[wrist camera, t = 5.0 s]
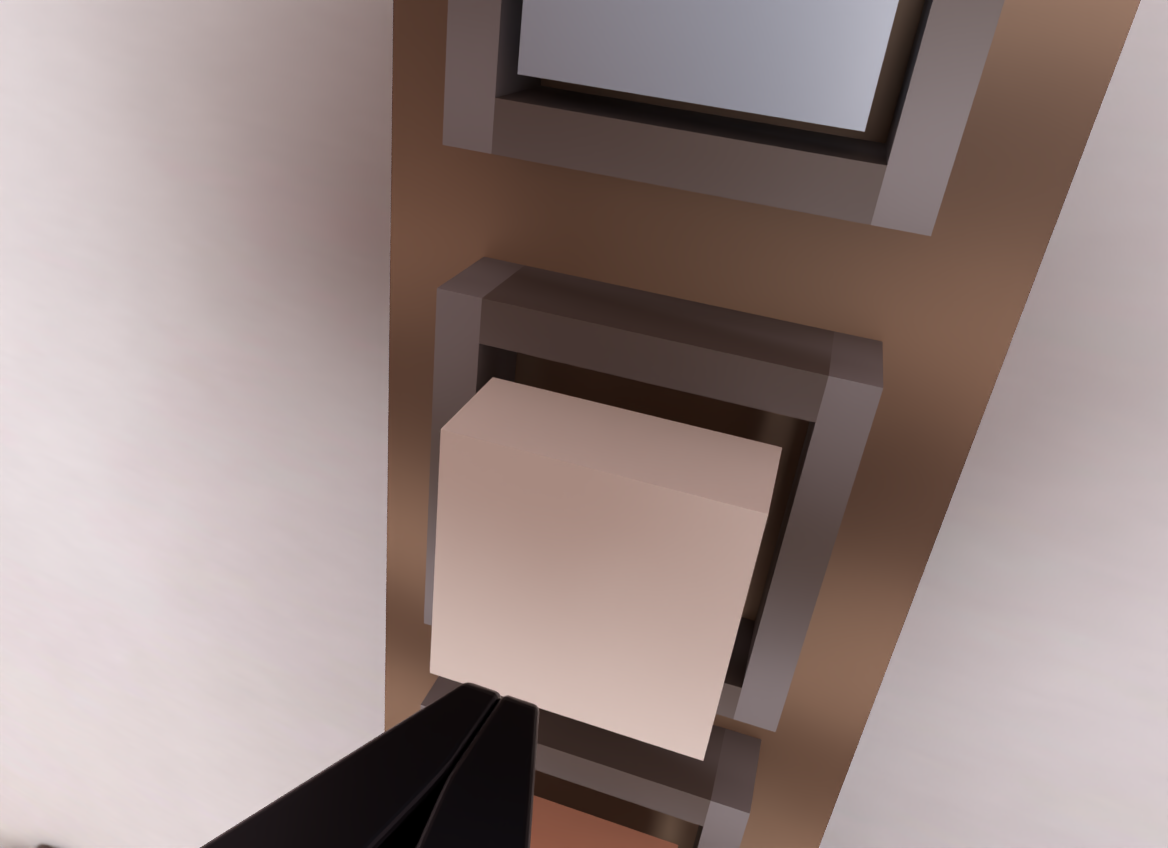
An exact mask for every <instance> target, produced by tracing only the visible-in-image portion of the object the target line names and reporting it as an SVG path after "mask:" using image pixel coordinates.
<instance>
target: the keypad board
mask: <svg viewBox="0 0 1168 848" xmlns="http://www.w3.org/2000/svg"><path fill="white" fill-rule="evenodd" d="M1140 1H1141V0H899V2H898V6H897V9H896V13H895V17H894V21H893V25H892V29H891V32H890V36H889V40H888V44H887V48H886V52H885V55H884V59H883V63H882V67H881V71H880V75H879V78H878V82H877V86H876V90H875V94H874V98H873V101H872V105H871V109H870V113H869V117H868V121H867V124H866V128H865V132H863V131H857V130H851V129H845V128H839V127H833V126H827V125H821V124H815V123H809V122H803V121H797V120H791V119H785V118H779V117H773V116H767V115H761V114H755V113H749V112H743V111H737V110H731V109H725V108H719V107H713V106H707V105H701V104H695V103H689V102H683V101H677V100H671V99H665V98H658V97H652V96H646V95H640V94H634V93H628V92H622V91H616V90H610V89H604V88H598V87H592V86H586V85H580V84H574V83H568V82H562V81H556V80H550V79H544V78H538V77H532V76H526V75H520V74H517V73H518V60H519V47H520V34H521V21H522V8H523V0H394V3H393V86H392V168H391V251H390V333H389V416H388V498H387V581H386V663H385V732H386V731H387V730H389V729H390V728H392V727H393V726H395V725H397V724H398V723H400V722H401V721H403V720H405V719H406V718H408V717H409V716H411V715H413V714H414V713H416V712H417V711H419V710H421V709H422V708H424V707H425V706H427V705H429V704H430V703H432V702H433V701H435V700H437V699H438V698H440V697H441V696H443V695H445V694H446V693H448V692H449V691H451V690H453V689H454V688H456V687H457V686H459V685H461V684H463V683H460V682H457V681H454V680H451V679H448V678H445V677H441V676H438V675H435V674H432V673H430V657H431V635H432V612H433V590H434V568H435V546H436V523H437V501H438V479H439V456H440V434H441V428H442V427H443V426H444V425H445V424H446V423H447V422H448V421H449V420H450V419H451V418H452V417H453V416H454V415H455V414H456V413H457V412H458V411H459V410H460V409H461V408H462V407H463V406H464V405H465V404H466V403H467V402H468V401H469V400H470V399H471V398H472V397H473V396H474V395H475V394H476V393H477V392H478V391H479V390H480V389H481V388H482V387H483V386H484V385H485V384H486V383H487V382H488V381H489V380H490V379H491V378H492V377H494V378H498V379H503V380H507V381H511V382H515V383H519V384H523V385H527V386H531V387H535V388H540V389H544V390H548V391H552V392H556V393H560V394H564V395H568V396H572V397H577V398H581V399H585V400H589V401H593V402H597V403H601V404H605V405H609V406H614V407H618V408H622V409H626V410H630V411H634V412H638V413H642V414H646V415H651V416H655V417H659V418H663V419H667V420H671V421H675V422H679V423H684V424H688V425H692V426H696V427H700V428H704V429H708V430H712V431H716V432H721V433H725V434H729V435H733V436H737V437H741V438H745V439H749V440H753V441H758V442H762V443H766V444H770V445H774V446H778V447H782V451H781V456H780V460H779V465H778V470H777V475H776V480H775V484H774V489H773V494H772V499H771V504H770V508H769V513H768V517H767V521H766V525H765V529H764V532H763V536H762V540H761V544H760V548H759V551H758V555H757V559H756V563H755V567H754V570H753V574H752V578H751V582H750V586H749V589H748V593H747V597H746V601H745V605H744V608H743V612H742V616H741V620H740V624H739V627H738V631H737V635H736V639H735V643H734V646H733V650H732V654H731V658H730V662H729V665H728V669H727V673H726V677H725V681H724V684H723V688H722V692H721V696H720V700H719V703H718V707H717V711H716V715H715V719H714V722H713V726H712V730H711V734H710V738H709V741H708V745H707V749H706V753H705V756H704V760H703V761H702V760H699V759H696V758H693V757H690V756H686V755H683V754H680V753H677V752H674V751H671V750H668V749H665V748H662V747H659V746H655V745H652V744H649V743H646V742H643V741H640V740H637V739H634V738H631V737H628V736H624V735H621V734H618V733H615V732H612V731H609V730H606V729H603V728H600V727H597V726H593V725H590V724H587V723H584V722H581V721H578V720H575V719H572V718H569V717H566V716H562V715H559V714H556V713H553V712H550V711H547V710H544V709H541V708H539V724H538V739H537V753H536V768H535V783H534V795H535V796H537V797H540V798H543V799H546V800H549V801H552V802H555V803H558V804H561V805H564V806H566V807H569V808H572V809H575V810H578V811H581V812H584V813H587V814H590V815H593V816H595V817H598V818H601V819H604V820H607V821H610V822H613V823H616V824H619V825H622V826H625V827H627V828H630V829H633V830H636V831H639V832H642V833H645V834H648V835H651V836H654V837H656V838H659V839H662V840H665V841H668V842H671V843H674V844H677V845H678V848H819V845H820V843H821V840H822V837H823V835H824V832H825V830H826V827H827V824H828V822H829V819H830V816H831V814H832V811H833V808H834V806H835V803H836V801H837V798H838V795H839V793H840V790H841V787H842V785H843V782H844V780H845V777H846V774H847V772H848V769H849V766H850V764H851V761H852V758H853V756H854V753H855V751H856V748H857V745H858V743H859V740H860V737H861V735H862V732H863V730H864V727H865V724H866V722H867V719H868V716H869V714H870V711H871V708H872V706H873V703H874V701H875V698H876V695H877V693H878V690H879V687H880V685H881V682H882V680H883V677H884V674H885V672H886V669H887V666H888V664H889V661H890V659H891V656H892V653H893V651H894V648H895V645H896V643H897V640H898V637H899V635H900V632H901V630H902V627H903V624H904V622H905V619H906V616H907V614H908V611H909V609H910V606H911V603H912V601H913V598H914V595H915V593H916V590H917V587H918V585H919V582H920V580H921V577H922V574H923V572H924V569H925V566H926V564H927V561H928V559H929V556H930V553H931V551H932V548H933V545H934V543H935V540H936V537H937V535H938V532H939V530H940V527H941V524H942V522H943V519H944V516H945V514H946V511H947V509H948V506H949V503H950V501H951V498H952V495H953V493H954V490H955V488H956V485H957V482H958V480H959V477H960V474H961V472H962V469H963V466H964V464H965V461H966V459H967V456H968V453H969V451H970V448H971V445H972V443H973V440H974V438H975V435H976V432H977V430H978V427H979V424H980V422H981V419H982V416H983V414H984V411H985V409H986V406H987V403H988V401H989V398H990V395H991V393H992V390H993V388H994V385H995V382H996V380H997V377H998V374H999V372H1000V369H1001V367H1002V364H1003V361H1004V359H1005V356H1006V353H1007V351H1008V348H1009V345H1010V343H1011V340H1012V338H1013V335H1014V332H1015V330H1016V327H1017V324H1018V322H1019V319H1020V317H1021V314H1022V311H1023V309H1024V306H1025V303H1026V301H1027V298H1028V295H1029V293H1030V290H1031V288H1032V285H1033V282H1034V280H1035V277H1036V274H1037V272H1038V269H1039V267H1040V264H1041V261H1042V259H1043V256H1044V253H1045V251H1046V248H1047V245H1048V243H1049V240H1050V238H1051V235H1052V232H1053V230H1054V227H1055V224H1056V222H1057V219H1058V217H1059V214H1060V211H1061V209H1062V206H1063V203H1064V201H1065V198H1066V196H1067V193H1068V190H1069V188H1070V185H1071V182H1072V180H1073V177H1074V174H1075V172H1076V169H1077V167H1078V164H1079V161H1080V159H1081V156H1082V153H1083V151H1084V148H1085V146H1086V143H1087V140H1088V138H1089V135H1090V132H1091V130H1092V127H1093V124H1094V122H1095V119H1096V117H1097V114H1098V111H1099V109H1100V106H1101V103H1102V101H1103V98H1104V96H1105V93H1106V90H1107V88H1108V85H1109V82H1110V80H1111V77H1112V75H1113V72H1114V69H1115V67H1116V64H1117V61H1118V59H1119V56H1120V53H1121V51H1122V48H1123V46H1124V43H1125V40H1126V38H1127V35H1128V32H1129V30H1130V27H1131V25H1132V22H1133V19H1134V17H1135V14H1136V11H1137V9H1138V6H1139V3H1140ZM502 697H503V696H501V698H502Z"/></svg>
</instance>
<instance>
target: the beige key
mask: <svg viewBox="0 0 1168 848" xmlns="http://www.w3.org/2000/svg"><path fill="white" fill-rule="evenodd" d="M781 451H782V447H778V446H774V445H770V444H766V443H762V442H758V441H753V440H749V439H745V438H741V437H737V436H733V435H729V434H725V433H721V432H716V431H712V430H708V429H704V428H700V427H696V426H692V425H688V424H684V423H679V422H675V421H671V420H667V419H663V418H659V417H655V416H651V415H646V414H642V413H638V412H634V411H630V410H626V409H622V408H618V407H614V406H609V405H605V404H601V403H597V402H593V401H589V400H585V399H581V398H577V397H572V396H568V395H564V394H560V393H556V392H552V391H548V390H544V389H540V388H535V387H531V386H527V385H523V384H519V383H515V382H511V381H507V380H503V379H498V378H494V377H492V378H491V379H490V380H489V381H488V382H487V383H486V384H485V385H484V386H483V387H482V388H481V389H480V390H479V391H478V392H477V393H476V394H475V395H474V396H473V397H472V398H471V399H470V400H469V401H468V402H467V403H466V404H465V405H464V406H463V407H462V408H461V409H460V410H459V411H458V412H457V413H456V414H455V415H454V416H453V417H452V418H451V419H450V420H449V421H448V422H447V423H446V424H445V425H444V426H443V427H442V428H441V434H440V456H439V479H438V501H437V523H436V546H435V568H434V590H433V612H432V635H431V657H430V673H432V674H435V675H438V676H441V677H445V678H448V679H451V680H454V681H457V682H460V683H467V682H470V683H474V684H477V685H480V686H483V687H486V688H489V689H492V690H495V691H497V692H498V693H499V694H500V695H501V696H506V695H509V696H512V697H515V698H518V699H521V700H524V701H527V702H530V703H533V704H535V705H537V707H538V708H541V709H544V710H547V711H550V712H553V713H556V714H559V715H562V716H566V717H569V718H572V719H575V720H578V721H581V722H584V723H587V724H590V725H593V726H597V727H600V728H603V729H606V730H609V731H612V732H615V733H618V734H621V735H624V736H628V737H631V738H634V739H637V740H640V741H643V742H646V743H649V744H652V745H655V746H659V747H662V748H665V749H668V750H671V751H674V752H677V753H680V754H683V755H686V756H690V757H693V758H696V759H699V760H702V761H703V760H704V756H705V753H706V749H707V745H708V741H709V738H710V734H711V730H712V726H713V722H714V719H715V715H716V711H717V707H718V703H719V700H720V696H721V692H722V688H723V684H724V681H725V677H726V673H727V669H728V665H729V662H730V658H731V654H732V650H733V646H734V643H735V639H736V635H737V631H738V627H739V624H740V620H741V616H742V612H743V608H744V605H745V601H746V597H747V593H748V589H749V586H750V582H751V578H752V574H753V570H754V567H755V563H756V559H757V555H758V551H759V548H760V544H761V540H762V536H763V532H764V529H765V525H766V521H767V517H768V513H769V508H770V504H771V499H772V494H773V489H774V484H775V480H776V475H777V470H778V465H779V460H780V456H781Z"/></svg>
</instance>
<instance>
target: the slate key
mask: <svg viewBox="0 0 1168 848" xmlns="http://www.w3.org/2000/svg"><path fill="white" fill-rule="evenodd" d="M898 2H899V0H523V8H522V21H521V34H520V47H519V60H518V73H517V74H520V75H526V76H532V77H538V78H544V79H550V80H556V81H562V82H568V83H574V84H580V85H586V86H592V87H598V88H604V89H610V90H616V91H622V92H628V93H634V94H640V95H646V96H652V97H658V98H665V99H671V100H677V101H683V102H689V103H695V104H701V105H707V106H713V107H719V108H725V109H731V110H737V111H743V112H749V113H755V114H761V115H767V116H773V117H779V118H785V119H791V120H797V121H803V122H809V123H815V124H821V125H827V126H833V127H839V128H845V129H851V130H857V131H863V132H865V128H866V124H867V121H868V117H869V113H870V109H871V105H872V101H873V98H874V94H875V90H876V86H877V82H878V78H879V75H880V71H881V67H882V63H883V59H884V55H885V52H886V48H887V44H888V40H889V36H890V32H891V29H892V25H893V21H894V17H895V13H896V9H897V6H898Z"/></svg>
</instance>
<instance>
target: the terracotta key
mask: <svg viewBox="0 0 1168 848" xmlns="http://www.w3.org/2000/svg"><path fill="white" fill-rule="evenodd" d="M530 848H678V845H677V844H674V843H671V842H668V841H665V840H662V839H659V838H656V837H654V836H651V835H648V834H645V833H642V832H639V831H636V830H633V829H630V828H627V827H625V826H622V825H619V824H616V823H613V822H610V821H607V820H604V819H601V818H598V817H595V816H593V815H590V814H587V813H584V812H581V811H578V810H575V809H572V808H569V807H566V806H564V805H561V804H558V803H555V802H552V801H549V800H546V799H543V798H540V797H537V796H535V795H534V798H533V813H532V828H531V843H530Z"/></svg>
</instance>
